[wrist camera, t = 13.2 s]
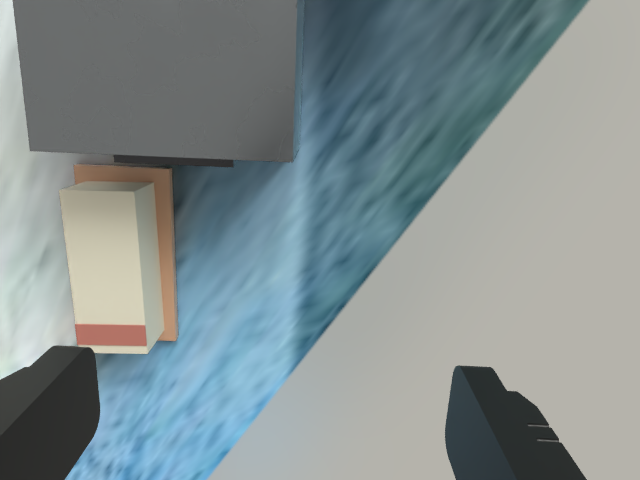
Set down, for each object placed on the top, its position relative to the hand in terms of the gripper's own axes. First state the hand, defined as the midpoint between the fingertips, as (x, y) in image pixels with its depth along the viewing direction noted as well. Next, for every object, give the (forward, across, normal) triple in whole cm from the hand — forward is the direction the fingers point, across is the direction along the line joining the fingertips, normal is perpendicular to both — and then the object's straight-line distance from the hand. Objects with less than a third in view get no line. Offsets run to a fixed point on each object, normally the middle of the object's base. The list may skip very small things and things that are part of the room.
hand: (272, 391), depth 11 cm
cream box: (+26, +14, +6) cm, 30 cm away
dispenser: (+27, +8, -9) cm, 30 cm away
